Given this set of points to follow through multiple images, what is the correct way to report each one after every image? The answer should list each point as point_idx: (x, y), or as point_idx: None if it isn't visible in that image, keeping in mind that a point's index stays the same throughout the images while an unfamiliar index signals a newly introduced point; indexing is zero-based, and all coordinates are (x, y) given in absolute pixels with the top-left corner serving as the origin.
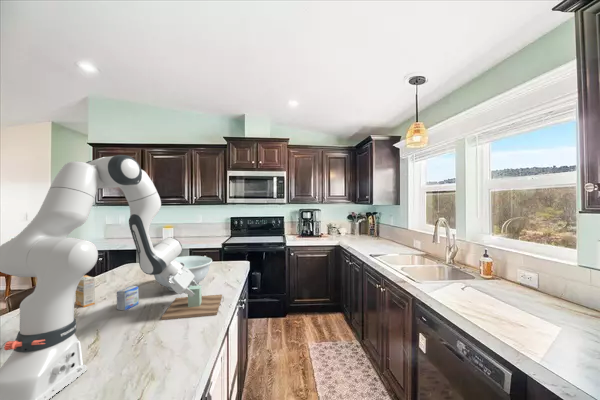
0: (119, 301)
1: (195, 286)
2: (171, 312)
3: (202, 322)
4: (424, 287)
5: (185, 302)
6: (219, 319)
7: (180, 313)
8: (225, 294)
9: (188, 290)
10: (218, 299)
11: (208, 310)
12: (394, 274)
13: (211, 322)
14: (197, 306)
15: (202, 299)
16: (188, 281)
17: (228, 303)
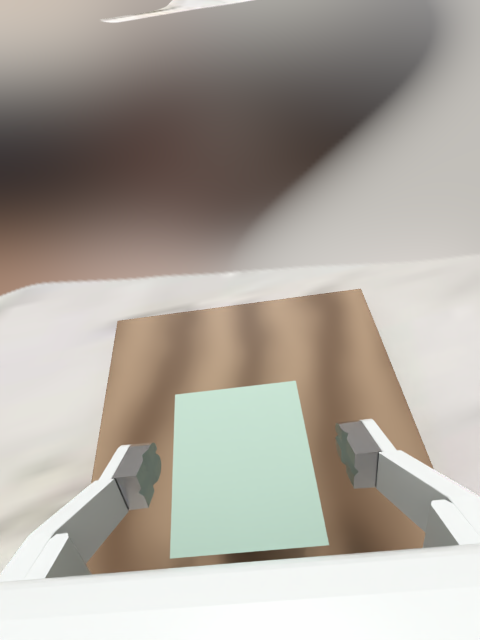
0: None
1: (205, 459)
2: None
3: (447, 337)
4: (201, 4)
5: None
6: (398, 275)
7: None
8: (95, 318)
9: (460, 493)
10: (190, 321)
11: (342, 332)
12: (116, 22)
13: (435, 298)
14: None
15: (167, 417)
16: (320, 626)
17: (221, 280)
